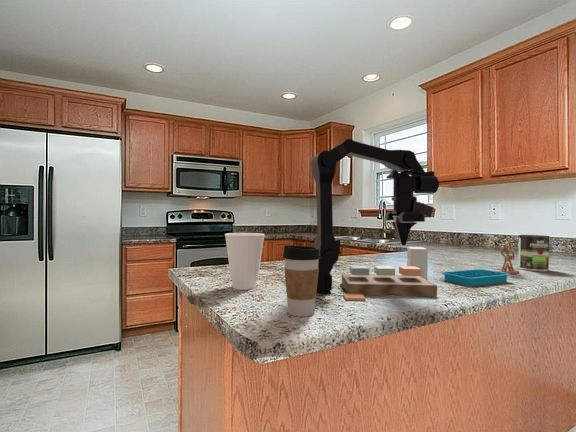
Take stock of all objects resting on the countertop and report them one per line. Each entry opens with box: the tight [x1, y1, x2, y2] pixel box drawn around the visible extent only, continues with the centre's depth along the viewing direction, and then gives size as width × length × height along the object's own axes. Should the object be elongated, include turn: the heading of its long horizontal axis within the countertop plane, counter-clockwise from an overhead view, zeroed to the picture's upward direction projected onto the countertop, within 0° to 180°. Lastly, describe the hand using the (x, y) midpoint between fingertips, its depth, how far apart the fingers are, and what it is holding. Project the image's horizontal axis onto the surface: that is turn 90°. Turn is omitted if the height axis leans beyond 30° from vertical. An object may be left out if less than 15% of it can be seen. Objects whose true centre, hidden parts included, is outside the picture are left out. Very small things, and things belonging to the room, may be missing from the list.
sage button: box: [373, 265, 396, 276], centre depth 101 cm, size 5×5×2 cm
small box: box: [406, 246, 428, 280], centre depth 119 cm, size 8×6×10 cm
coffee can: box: [517, 234, 551, 272], centre depth 139 cm, size 10×10×14 cm
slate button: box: [349, 265, 370, 275], centre depth 101 cm, size 5×5×2 cm
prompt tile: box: [343, 292, 366, 302], centre depth 89 cm, size 5×5×1 cm
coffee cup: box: [282, 244, 321, 318], centre depth 75 cm, size 8×8×15 cm
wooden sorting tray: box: [341, 273, 438, 297], centre depth 99 cm, size 24×15×3 cm, turn 88°
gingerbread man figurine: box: [496, 241, 520, 276], centre depth 128 cm, size 9×4×12 cm, turn 117°
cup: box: [224, 232, 265, 291], centre depth 101 cm, size 12×12×16 cm
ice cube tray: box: [441, 268, 511, 287], centre depth 113 cm, size 12×20×3 cm, turn 113°
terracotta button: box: [398, 265, 421, 276], centre depth 100 cm, size 5×5×2 cm
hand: (403, 245), depth 102 cm, fingers closed
